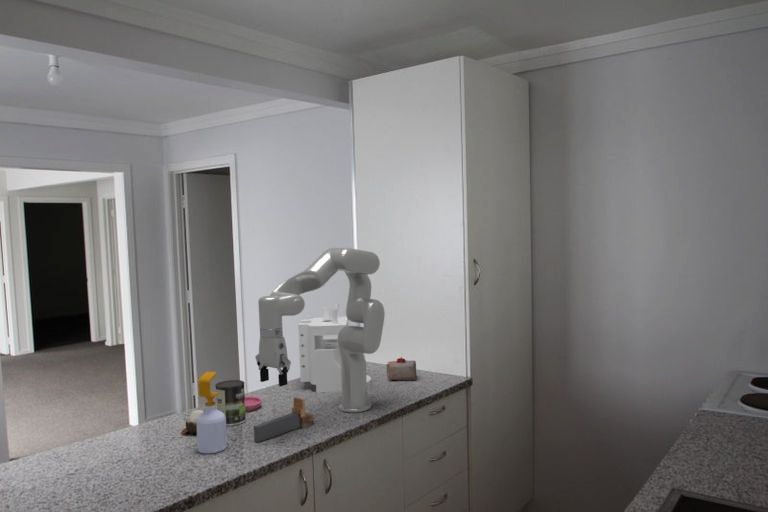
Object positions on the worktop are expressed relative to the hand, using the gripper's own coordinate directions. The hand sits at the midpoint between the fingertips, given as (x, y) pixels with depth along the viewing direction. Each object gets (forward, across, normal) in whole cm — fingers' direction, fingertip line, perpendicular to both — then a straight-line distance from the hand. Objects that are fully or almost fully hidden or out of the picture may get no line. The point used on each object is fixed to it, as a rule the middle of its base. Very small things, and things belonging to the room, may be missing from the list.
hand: (273, 383), depth 203 cm
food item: (+19, +11, -81) cm, 83 cm away
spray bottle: (+18, +7, +20) cm, 28 cm away
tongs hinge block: (+18, 0, -13) cm, 22 cm away
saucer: (+18, +34, -13) cm, 41 cm away
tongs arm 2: (+18, -1, -1) cm, 18 cm away
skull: (+18, +26, +13) cm, 34 cm away
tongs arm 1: (+18, +1, -1) cm, 18 cm away
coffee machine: (+19, +29, -58) cm, 67 cm away
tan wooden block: (+14, 0, -10) cm, 17 cm away
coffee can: (+18, +25, 0) cm, 31 cm away
